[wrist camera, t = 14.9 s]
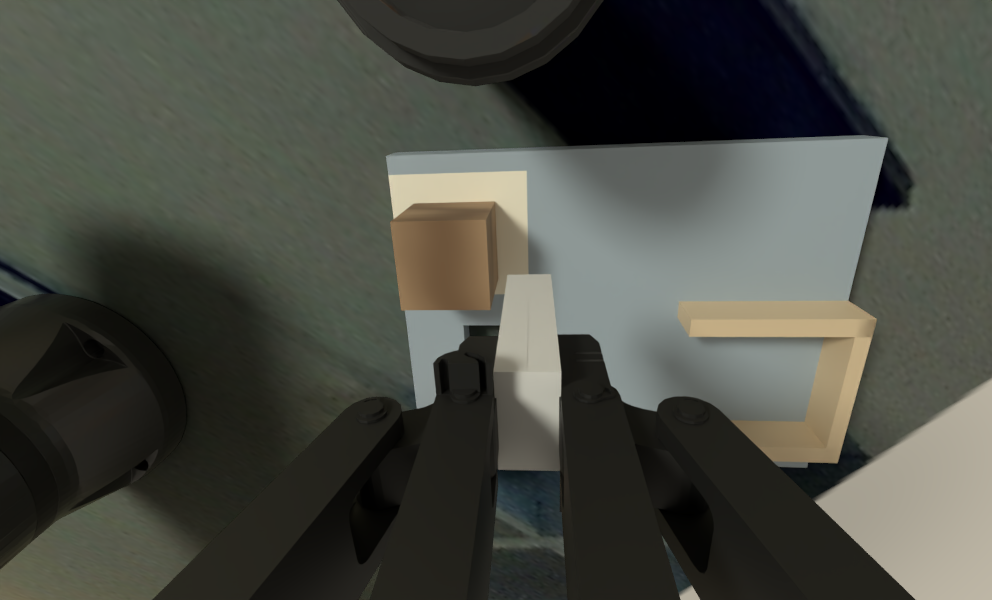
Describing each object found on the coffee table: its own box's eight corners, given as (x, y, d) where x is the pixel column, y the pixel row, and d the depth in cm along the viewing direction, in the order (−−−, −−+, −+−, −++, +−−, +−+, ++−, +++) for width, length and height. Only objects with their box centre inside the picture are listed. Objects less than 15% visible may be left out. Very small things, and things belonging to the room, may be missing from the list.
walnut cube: (422, 280, 29) (401, 310, 24) (414, 203, 27) (390, 221, 23) (498, 279, 28) (490, 310, 24) (495, 201, 26) (485, 219, 22)
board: (429, 438, 35) (414, 483, 31) (396, 152, 28) (370, 161, 24) (792, 447, 33) (828, 497, 29) (863, 135, 25) (925, 141, 21)
